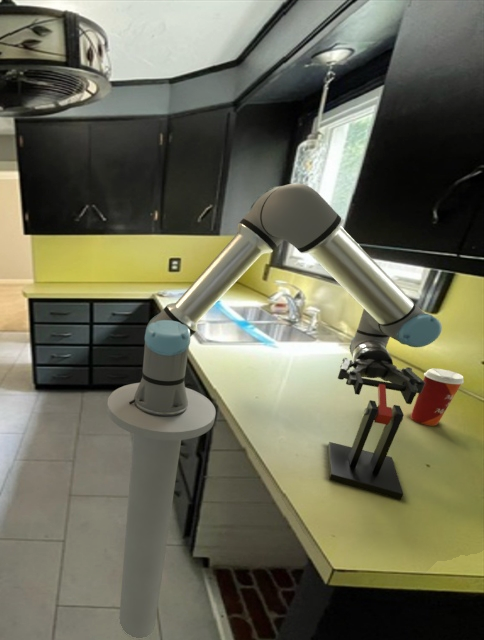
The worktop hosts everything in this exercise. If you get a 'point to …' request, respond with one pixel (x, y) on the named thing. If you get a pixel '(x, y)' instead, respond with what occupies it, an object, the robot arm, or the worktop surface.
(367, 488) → the bracket
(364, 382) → the lever
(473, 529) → the worktop surface
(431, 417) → the paper cup
